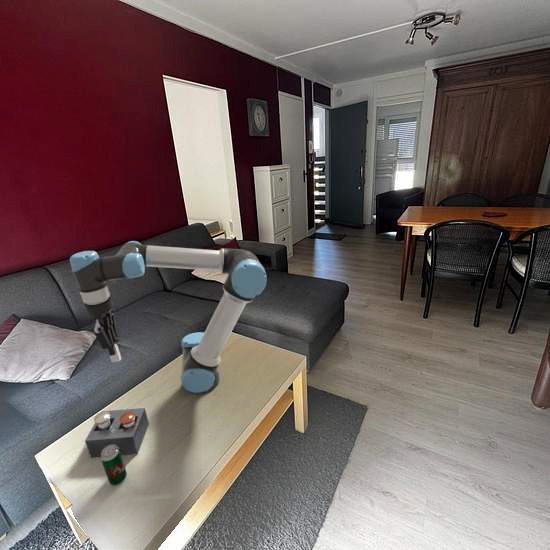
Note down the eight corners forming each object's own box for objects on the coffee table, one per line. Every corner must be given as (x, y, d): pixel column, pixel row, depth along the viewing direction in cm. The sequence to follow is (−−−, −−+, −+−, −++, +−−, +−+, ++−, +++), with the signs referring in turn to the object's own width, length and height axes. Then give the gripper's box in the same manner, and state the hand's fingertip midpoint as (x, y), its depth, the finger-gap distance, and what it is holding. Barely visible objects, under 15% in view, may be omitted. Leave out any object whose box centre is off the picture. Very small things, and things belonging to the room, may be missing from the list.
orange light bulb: (140, 428, 107) (136, 411, 104) (136, 439, 103) (131, 421, 100) (127, 429, 107) (122, 412, 104) (122, 440, 103) (117, 423, 100)
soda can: (113, 471, 95) (104, 443, 91) (129, 469, 96) (121, 442, 91) (106, 487, 91) (96, 459, 86) (123, 485, 91) (114, 457, 87)
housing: (148, 424, 112) (144, 407, 109) (137, 454, 101) (132, 436, 98) (107, 427, 111) (101, 411, 108) (91, 458, 100) (84, 440, 97)
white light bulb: (117, 427, 106) (111, 410, 103) (111, 439, 102) (106, 421, 99) (103, 428, 106) (98, 411, 103) (97, 440, 102) (91, 422, 99)
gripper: (93, 292, 101) (112, 350, 110) (74, 311, 89) (97, 374, 98) (116, 289, 102) (133, 347, 111) (101, 308, 90) (121, 371, 99)
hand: (116, 360), depth 105 cm, fingers closed
